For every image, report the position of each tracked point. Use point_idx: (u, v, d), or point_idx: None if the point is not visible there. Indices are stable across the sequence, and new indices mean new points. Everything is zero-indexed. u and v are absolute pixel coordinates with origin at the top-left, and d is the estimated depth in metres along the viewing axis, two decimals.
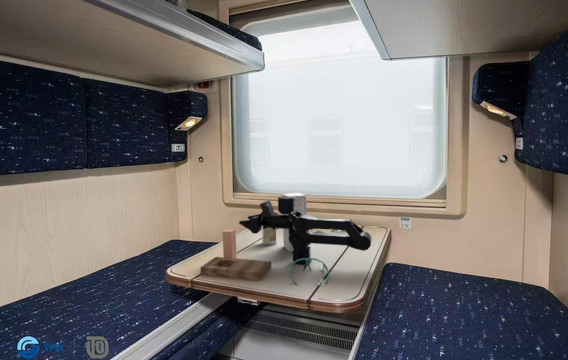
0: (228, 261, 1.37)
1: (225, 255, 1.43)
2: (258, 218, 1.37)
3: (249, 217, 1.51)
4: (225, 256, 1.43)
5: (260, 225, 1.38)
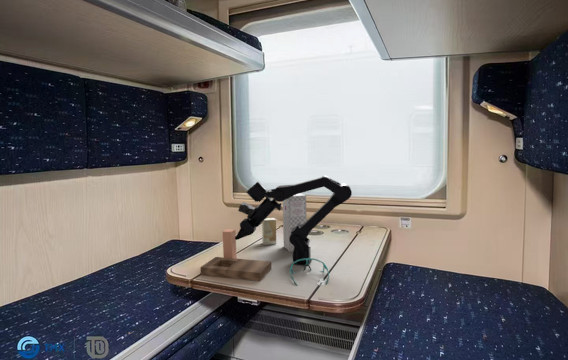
0: (228, 261, 1.37)
1: (225, 255, 1.43)
2: (245, 219, 1.35)
3: None
4: (225, 256, 1.43)
5: (251, 223, 1.35)
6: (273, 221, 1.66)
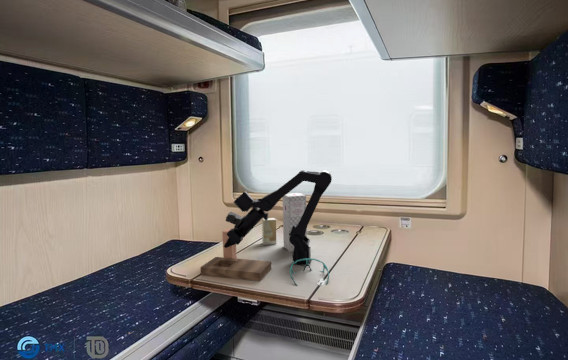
0: (228, 261, 1.37)
1: (225, 255, 1.43)
2: (232, 229, 1.36)
3: None
4: (225, 256, 1.43)
5: (238, 233, 1.36)
6: (273, 221, 1.66)
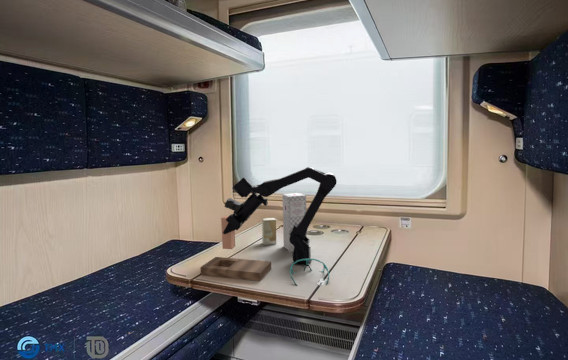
0: (228, 261, 1.37)
1: (224, 242, 1.42)
2: (231, 215, 1.35)
3: None
4: (224, 243, 1.42)
5: (238, 219, 1.35)
6: (273, 221, 1.66)
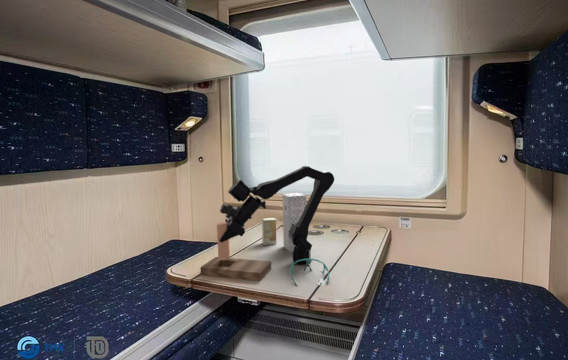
0: (228, 261, 1.37)
1: (220, 251, 1.31)
2: (233, 220, 1.25)
3: None
4: (220, 252, 1.31)
5: (240, 224, 1.27)
6: (273, 221, 1.66)
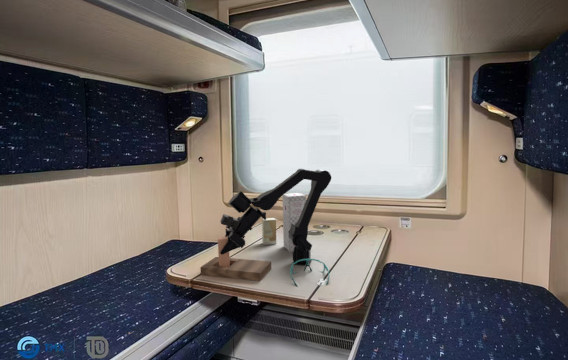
0: None
1: (221, 265, 1.31)
2: (234, 232, 1.26)
3: None
4: (221, 266, 1.31)
5: (240, 236, 1.27)
6: (273, 221, 1.66)
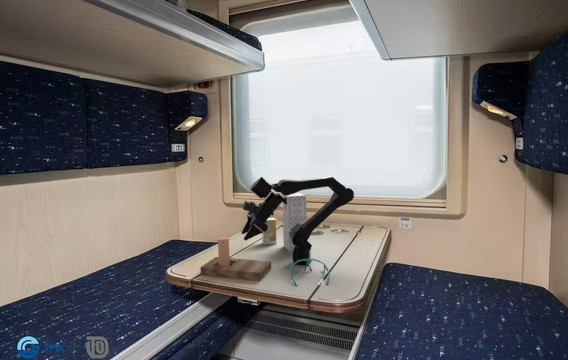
0: None
1: (221, 265, 1.31)
2: (256, 217, 1.28)
3: (243, 232, 1.39)
4: (221, 266, 1.31)
5: (263, 221, 1.29)
6: (273, 221, 1.66)
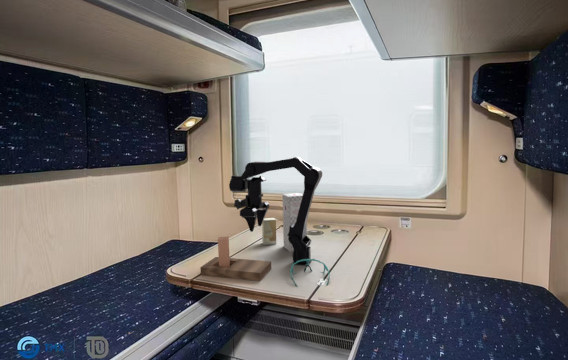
0: None
1: (221, 265, 1.31)
2: (242, 209, 1.38)
3: (259, 224, 1.50)
4: (221, 266, 1.31)
5: (249, 208, 1.38)
6: (273, 221, 1.66)
